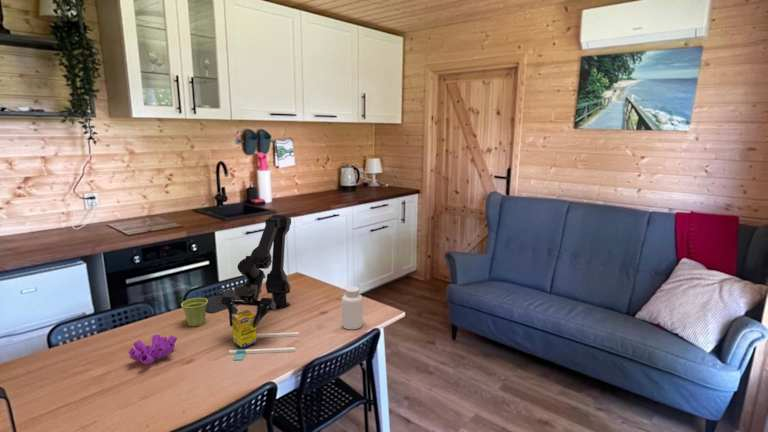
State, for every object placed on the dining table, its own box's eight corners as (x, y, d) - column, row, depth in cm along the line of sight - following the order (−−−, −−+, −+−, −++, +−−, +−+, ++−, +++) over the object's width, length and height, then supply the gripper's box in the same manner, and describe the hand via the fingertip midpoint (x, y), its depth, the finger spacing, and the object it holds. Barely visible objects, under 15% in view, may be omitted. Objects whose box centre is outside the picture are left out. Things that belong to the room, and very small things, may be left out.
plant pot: (177, 326, 162) (175, 305, 160) (196, 316, 171) (194, 296, 169) (196, 330, 159) (194, 309, 157) (214, 320, 167) (213, 299, 166)
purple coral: (129, 375, 136) (120, 347, 138) (176, 356, 147) (167, 331, 149) (138, 366, 129) (128, 337, 131) (187, 347, 140) (177, 320, 142)
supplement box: (241, 349, 145) (239, 319, 142) (233, 343, 149) (231, 314, 146) (257, 343, 149) (255, 314, 146) (248, 337, 153) (246, 309, 151)
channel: (225, 360, 138) (225, 357, 138) (240, 332, 158) (240, 329, 158) (293, 357, 140) (293, 354, 140) (299, 329, 160) (299, 327, 160)
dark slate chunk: (193, 305, 182) (192, 295, 181) (239, 291, 198) (238, 281, 197) (210, 316, 172) (209, 305, 171) (257, 300, 188) (257, 290, 187)
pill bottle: (366, 323, 166) (366, 287, 163) (356, 331, 159) (356, 294, 156) (348, 319, 169) (348, 283, 166) (338, 327, 162) (337, 290, 159)
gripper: (220, 274, 148) (206, 317, 140) (271, 276, 146) (260, 320, 138) (232, 286, 158) (220, 327, 150) (280, 289, 156) (270, 331, 147)
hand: (242, 326), depth 146 cm, fingers closed on supplement box, 8 cm apart
